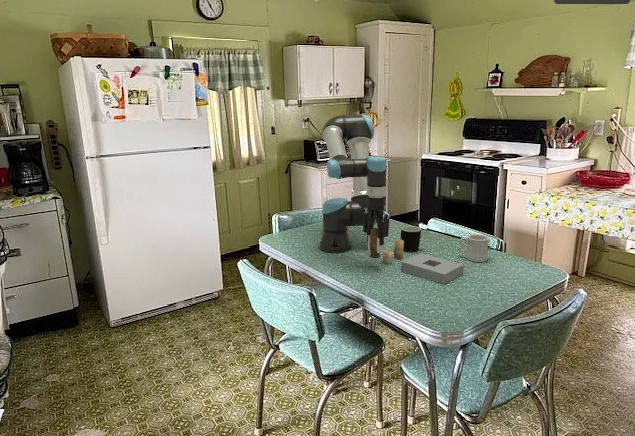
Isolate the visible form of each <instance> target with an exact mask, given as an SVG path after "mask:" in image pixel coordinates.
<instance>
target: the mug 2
mask: <svg viewBox="0 0 635 436" xmlns="http://www.w3.org/2000/svg"><path fill="white" fill-rule="evenodd" d="M466 237H467V238H466ZM466 237H461V238H460V239H459V240H458V241H459V244H460V245H461V246H459V247H458V251H459V253H460V254H462V255H464V254H465V258H466V259H467V260H468V261H470V262H475V263H485V262H487V261H488V260H489V243H490V237H489V236H488V235H485V234H480V233H479V234H477V233H475V234H474V233H473V234H469V235H467V236H466ZM463 240H464V241H465V242H467V246H466V247H467V248H466V250H464V251H463V250H462V249H463V248H464V247H465V245H464V243H463V242H462V241H463Z"/></svg>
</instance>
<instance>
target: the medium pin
mask: <svg viewBox="0 0 635 436" xmlns="http://www.w3.org/2000/svg"><path fill="white" fill-rule="evenodd" d="M393 242H394V243H393V244H394V246H393V252H394V253H393V259H395V260H403V259H404V250H403V248H404V240H401V238H397V239H394V241H393Z"/></svg>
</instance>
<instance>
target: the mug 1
mask: <svg viewBox="0 0 635 436" xmlns="http://www.w3.org/2000/svg"><path fill="white" fill-rule="evenodd" d="M421 237H422V228H420V226H419V227H418V226H413V225H412V226H411V225H408V226H407V225H406V226H403V227H401V228H400V239H401V240H404V248H403V252H404V251H405V252H409V253H414V252H415V253H416V252H417V251H418V250H419V248H420V245H421Z"/></svg>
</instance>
